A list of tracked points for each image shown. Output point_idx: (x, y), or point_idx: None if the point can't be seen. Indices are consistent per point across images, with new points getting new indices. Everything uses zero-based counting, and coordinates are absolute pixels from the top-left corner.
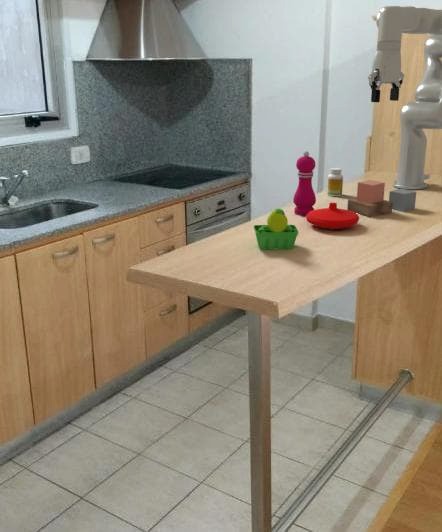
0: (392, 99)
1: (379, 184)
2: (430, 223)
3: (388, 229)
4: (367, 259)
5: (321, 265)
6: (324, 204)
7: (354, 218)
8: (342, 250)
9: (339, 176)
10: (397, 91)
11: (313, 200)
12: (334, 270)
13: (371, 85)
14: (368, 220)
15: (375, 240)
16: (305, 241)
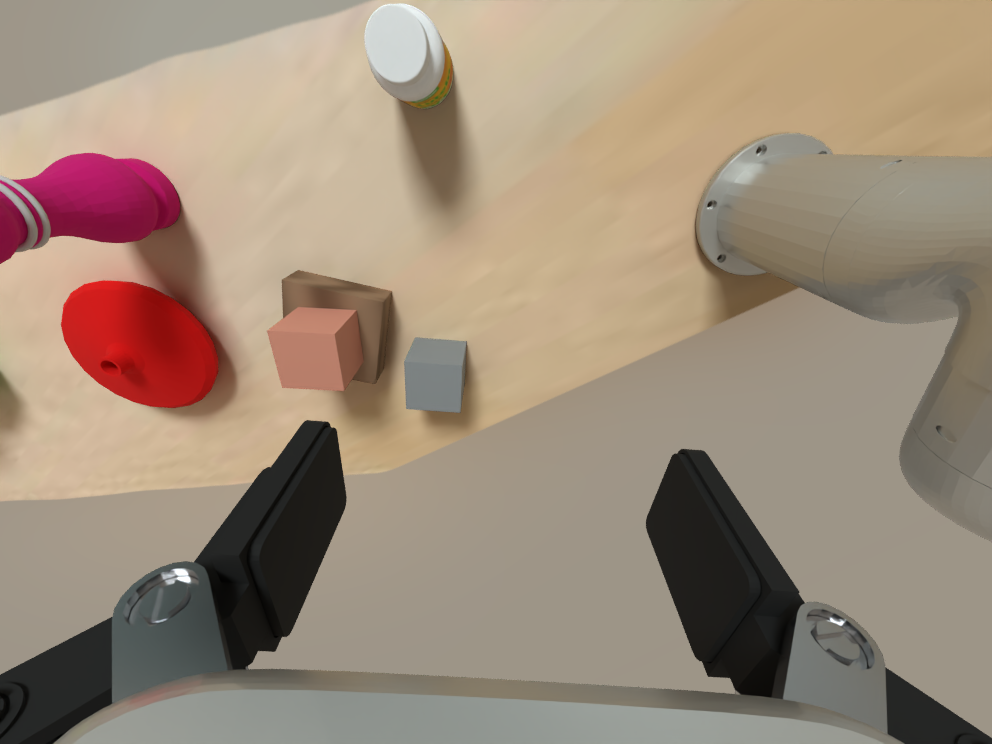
0: (664, 487)
1: (316, 388)
2: (382, 461)
3: (269, 432)
4: (114, 492)
5: (16, 466)
6: (283, 157)
7: (172, 407)
8: (93, 447)
9: (397, 94)
10: (686, 626)
11: (124, 242)
12: (30, 488)
13: (61, 674)
14: None
15: (192, 452)
16: (37, 373)
